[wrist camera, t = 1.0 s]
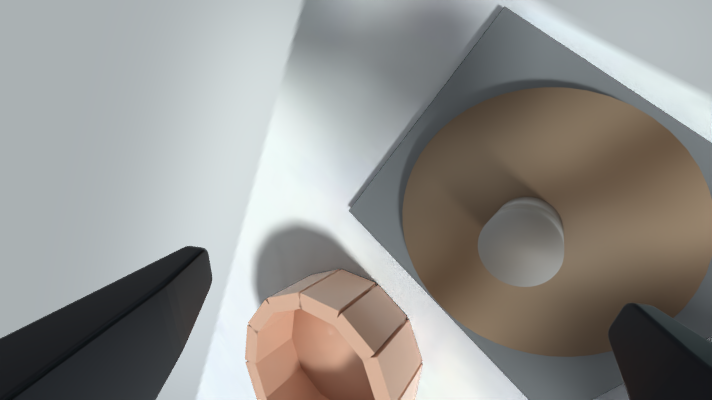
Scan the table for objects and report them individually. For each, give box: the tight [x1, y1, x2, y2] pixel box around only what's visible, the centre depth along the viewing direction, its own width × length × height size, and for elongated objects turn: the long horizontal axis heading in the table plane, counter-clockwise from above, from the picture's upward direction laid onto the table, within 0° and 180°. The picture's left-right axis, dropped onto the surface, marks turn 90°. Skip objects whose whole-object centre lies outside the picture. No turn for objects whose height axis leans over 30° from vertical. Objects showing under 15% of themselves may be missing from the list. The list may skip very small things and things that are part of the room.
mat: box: [349, 7, 712, 400], centre depth 17 cm, size 16×14×1 cm
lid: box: [402, 87, 712, 357], centre depth 15 cm, size 13×13×5 cm
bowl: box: [245, 269, 423, 400], centre depth 23 cm, size 11×11×4 cm
